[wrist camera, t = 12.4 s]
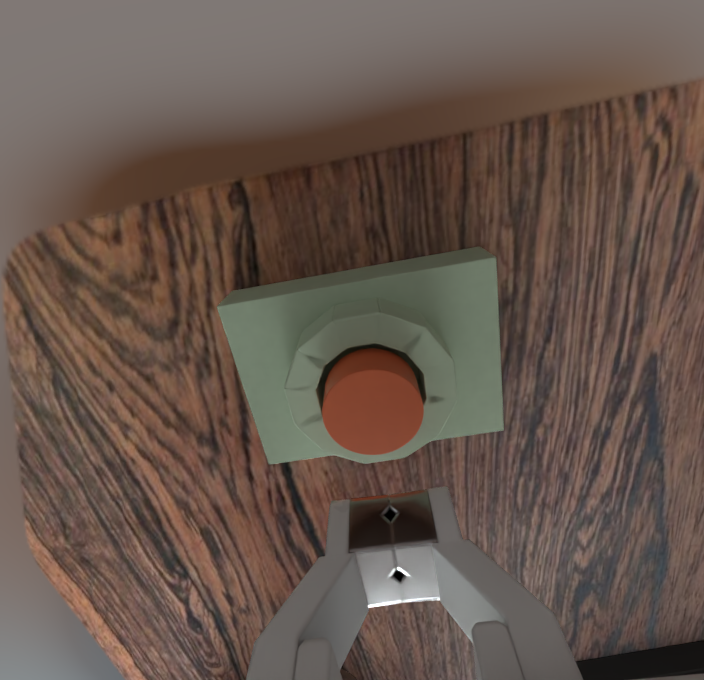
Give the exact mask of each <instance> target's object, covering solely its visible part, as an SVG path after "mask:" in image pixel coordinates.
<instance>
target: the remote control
mask: <svg viewBox="0 0 704 680" xmlns="http://www.w3.org/2000/svg"><path fill="white" fill-rule="evenodd" d="M576 664H577V666H578V669H579V671H580V673H581V675H582V678H583V680H633V679H645V678H657V677H669V676H680V675H692V674H704V641H700V642H694V643H688V644H682V645H676V646H670V647H664V648H658V649H652V650H646V651H640V652H634V653H628V654H622V655H616V656H610V657H605V658H599V659H593V660H587V661H581V662H576Z"/></svg>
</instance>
